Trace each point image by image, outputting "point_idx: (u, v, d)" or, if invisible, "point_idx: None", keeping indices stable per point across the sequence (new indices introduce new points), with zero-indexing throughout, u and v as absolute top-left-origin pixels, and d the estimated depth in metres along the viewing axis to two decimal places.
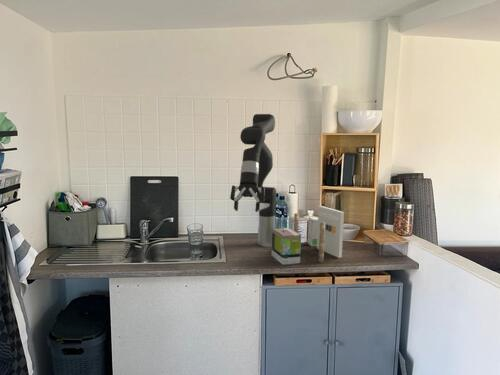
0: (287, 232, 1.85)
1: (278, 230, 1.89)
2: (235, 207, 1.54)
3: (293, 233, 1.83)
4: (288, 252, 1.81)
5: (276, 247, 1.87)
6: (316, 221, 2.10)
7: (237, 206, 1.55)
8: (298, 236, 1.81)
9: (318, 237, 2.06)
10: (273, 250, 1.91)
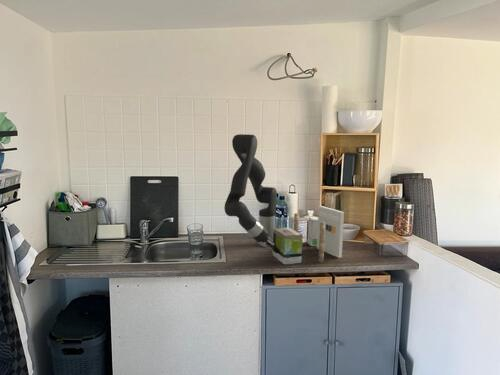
0: (288, 232, 1.85)
1: (279, 230, 1.89)
2: (274, 251, 1.86)
3: (294, 233, 1.84)
4: (289, 252, 1.81)
5: (278, 247, 1.87)
6: (316, 221, 2.10)
7: None
8: (299, 236, 1.82)
9: (318, 237, 2.06)
10: None
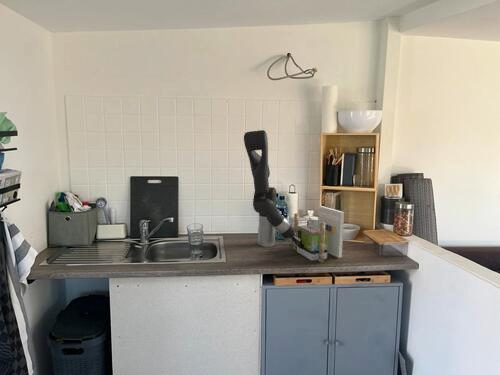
0: (314, 229, 1.91)
1: (304, 227, 1.95)
2: (299, 247, 1.93)
3: None
4: (316, 248, 1.87)
5: (304, 243, 1.93)
6: (316, 221, 2.10)
7: (300, 245, 1.93)
8: (325, 233, 1.88)
9: None
10: None
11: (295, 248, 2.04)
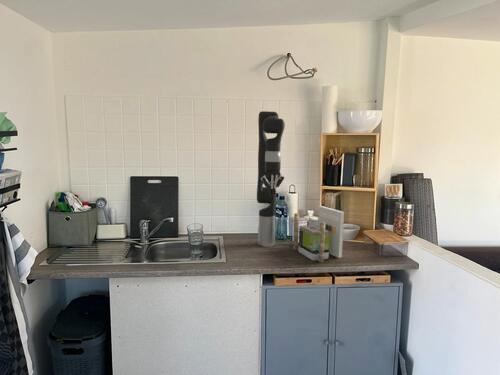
0: (316, 229, 1.92)
1: (306, 227, 1.95)
2: (272, 194, 1.80)
3: None
4: (317, 248, 1.88)
5: (305, 243, 1.93)
6: (316, 221, 2.10)
7: None
8: (327, 232, 1.89)
9: None
10: (301, 247, 1.98)
11: (295, 248, 2.04)
